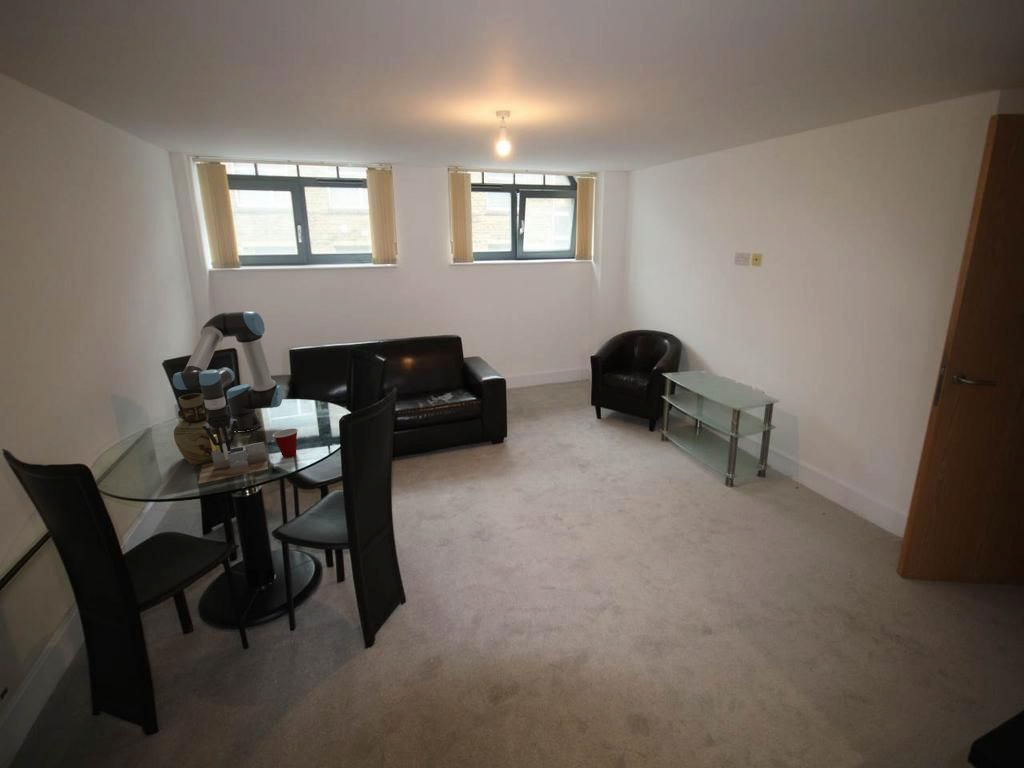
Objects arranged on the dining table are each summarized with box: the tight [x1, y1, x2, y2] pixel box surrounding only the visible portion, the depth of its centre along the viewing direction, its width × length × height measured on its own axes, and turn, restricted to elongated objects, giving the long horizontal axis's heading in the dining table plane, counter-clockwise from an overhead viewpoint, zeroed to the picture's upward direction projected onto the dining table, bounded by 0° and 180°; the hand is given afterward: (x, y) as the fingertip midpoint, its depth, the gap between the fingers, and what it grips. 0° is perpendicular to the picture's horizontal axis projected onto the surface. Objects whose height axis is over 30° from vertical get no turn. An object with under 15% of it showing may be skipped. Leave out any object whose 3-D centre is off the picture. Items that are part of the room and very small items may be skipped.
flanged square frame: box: [211, 445, 248, 469], centre depth 212 cm, size 7×13×8 cm, turn 118°
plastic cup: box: [272, 427, 298, 459], centre depth 225 cm, size 11×11×12 cm
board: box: [197, 451, 269, 485], centre depth 214 cm, size 20×26×1 cm
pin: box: [209, 434, 220, 452], centre depth 215 cm, size 3×3×14 cm
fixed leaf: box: [230, 441, 268, 471], centre depth 215 cm, size 7×14×8 cm, turn 118°
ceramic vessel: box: [173, 392, 229, 465], centre depth 223 cm, size 19×21×30 cm
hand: (227, 458), depth 211 cm, fingers closed
